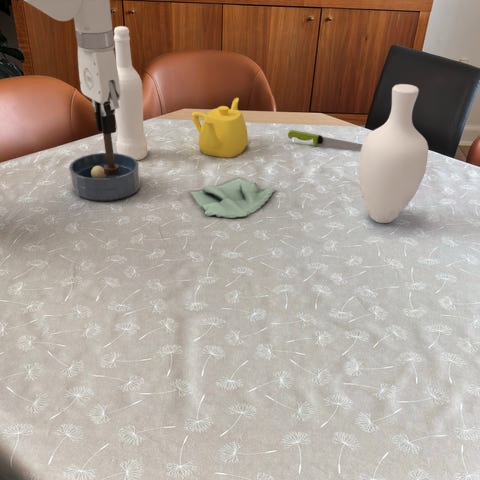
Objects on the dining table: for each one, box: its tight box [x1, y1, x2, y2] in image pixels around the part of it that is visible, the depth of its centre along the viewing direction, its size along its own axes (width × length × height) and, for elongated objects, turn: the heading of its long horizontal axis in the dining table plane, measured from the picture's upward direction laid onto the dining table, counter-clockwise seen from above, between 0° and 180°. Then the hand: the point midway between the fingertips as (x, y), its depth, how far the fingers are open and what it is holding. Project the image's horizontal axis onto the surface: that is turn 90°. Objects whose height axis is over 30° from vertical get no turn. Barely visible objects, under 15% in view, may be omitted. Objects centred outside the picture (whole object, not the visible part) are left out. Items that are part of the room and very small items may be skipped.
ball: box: [91, 166, 106, 178], centre depth 159 cm, size 4×4×4 cm
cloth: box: [190, 178, 276, 219], centre depth 155 cm, size 20×22×2 cm
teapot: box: [191, 97, 249, 159], centre depth 176 cm, size 22×16×11 cm
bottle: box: [113, 25, 149, 161], centre depth 164 cm, size 8×8×30 cm
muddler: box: [100, 104, 120, 176], centre depth 149 cm, size 4×4×15 cm
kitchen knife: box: [287, 129, 363, 151], centre depth 180 cm, size 22×1×3 cm, turn 77°
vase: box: [357, 83, 429, 224], centre depth 139 cm, size 14×14×28 cm
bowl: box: [68, 152, 141, 202], centre depth 157 cm, size 16×16×6 cm
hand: (106, 130), depth 147 cm, fingers closed on muddler
